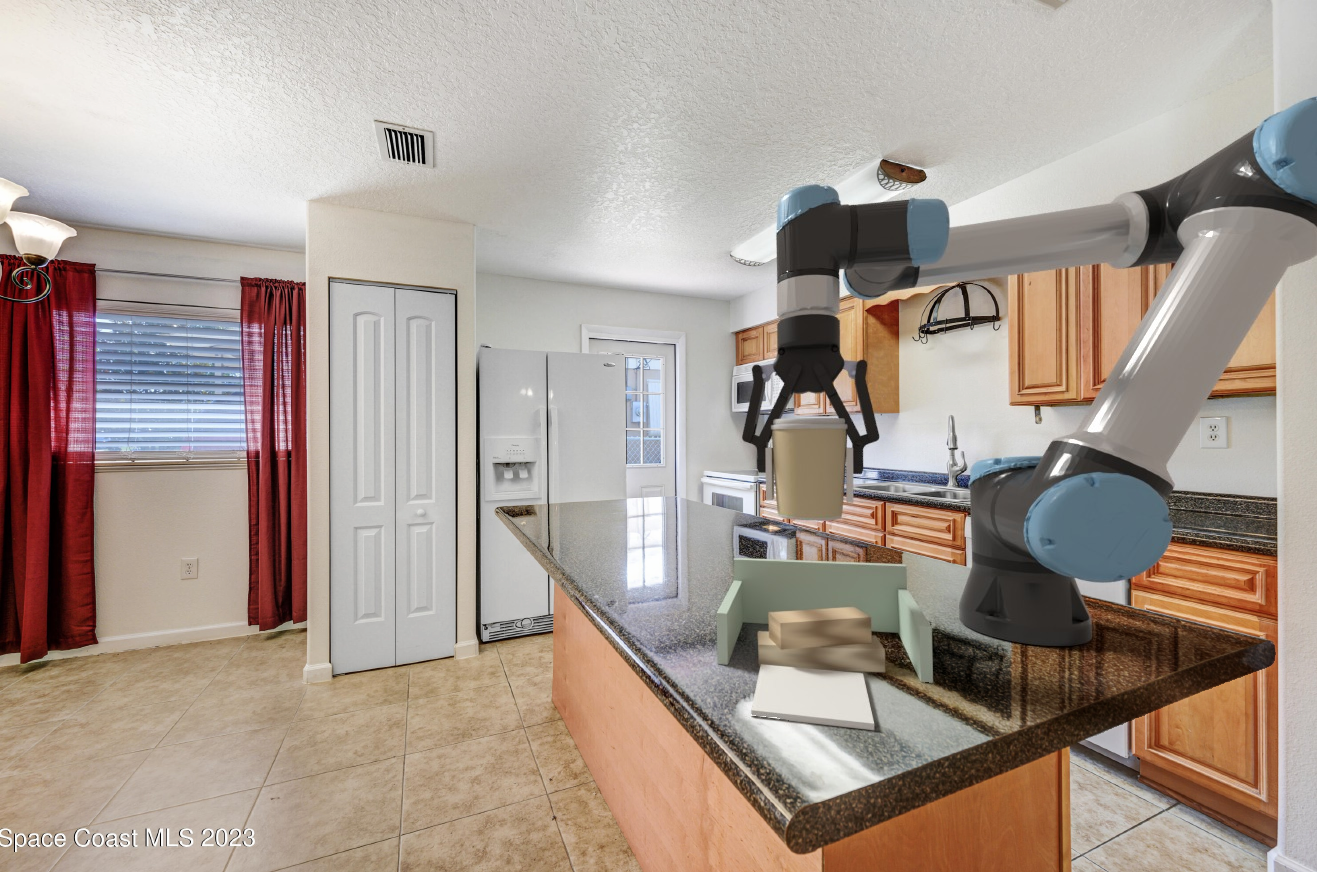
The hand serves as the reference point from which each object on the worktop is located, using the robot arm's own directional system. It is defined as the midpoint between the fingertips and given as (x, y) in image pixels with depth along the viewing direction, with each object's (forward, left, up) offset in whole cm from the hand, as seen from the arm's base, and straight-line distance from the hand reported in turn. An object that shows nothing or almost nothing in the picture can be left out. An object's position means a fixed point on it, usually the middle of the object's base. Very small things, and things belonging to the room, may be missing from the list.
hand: (809, 500), depth 68 cm
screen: (-1, -2, -19) cm, 19 cm away
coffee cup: (0, 0, -2) cm, 2 cm away
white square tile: (0, +12, -19) cm, 22 cm away
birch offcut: (-1, +3, -19) cm, 19 cm away
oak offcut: (-1, +3, -16) cm, 16 cm away
